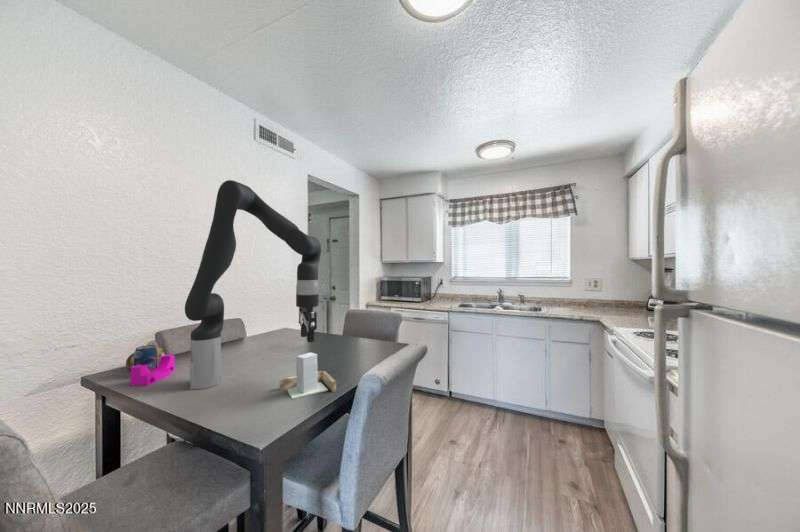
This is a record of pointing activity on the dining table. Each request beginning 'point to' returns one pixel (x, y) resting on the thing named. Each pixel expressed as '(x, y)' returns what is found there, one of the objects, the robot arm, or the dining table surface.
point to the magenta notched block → (145, 377)
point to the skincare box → (306, 372)
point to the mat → (297, 394)
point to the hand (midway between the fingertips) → (307, 339)
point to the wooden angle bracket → (322, 376)
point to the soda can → (146, 356)
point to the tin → (130, 359)
